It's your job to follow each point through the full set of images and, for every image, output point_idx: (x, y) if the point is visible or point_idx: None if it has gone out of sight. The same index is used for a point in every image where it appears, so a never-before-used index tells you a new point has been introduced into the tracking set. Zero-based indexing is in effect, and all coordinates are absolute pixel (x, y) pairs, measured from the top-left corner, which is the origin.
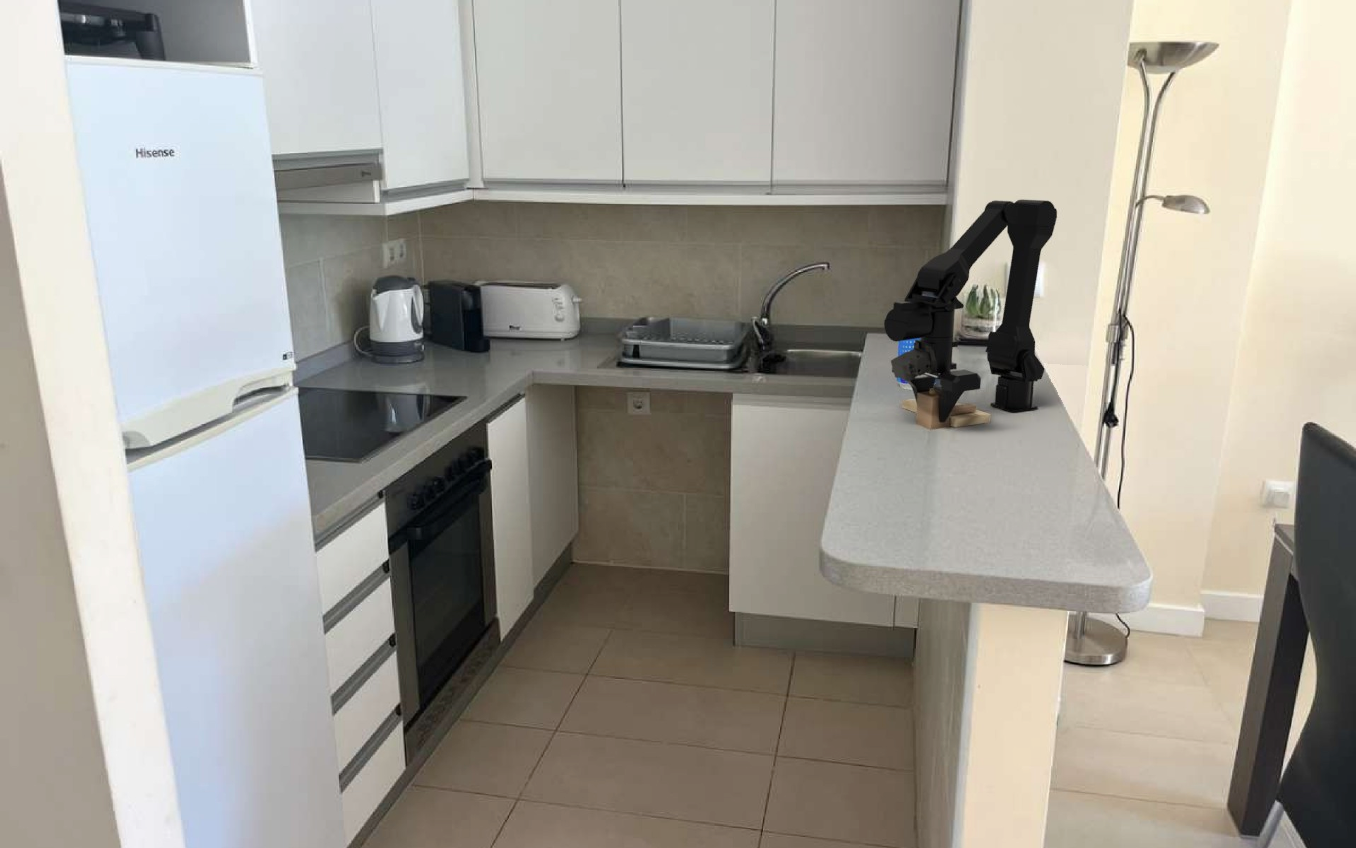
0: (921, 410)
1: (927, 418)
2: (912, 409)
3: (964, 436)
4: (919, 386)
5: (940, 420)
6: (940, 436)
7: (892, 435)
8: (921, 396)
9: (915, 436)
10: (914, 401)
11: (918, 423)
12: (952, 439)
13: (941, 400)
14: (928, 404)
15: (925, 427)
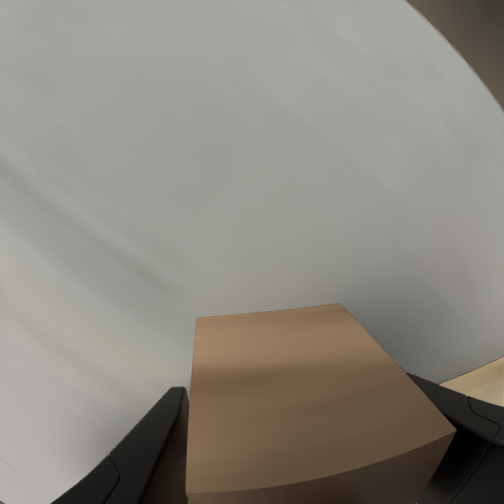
0: (327, 360)
1: (241, 346)
2: (475, 375)
3: (48, 383)
4: (492, 473)
5: (167, 391)
6: (62, 288)
7: (186, 34)
8: (387, 436)
9: (104, 150)
10: (496, 400)
11: (319, 309)
12: (12, 309)
13: (86, 493)
14: (249, 421)
15: (251, 314)
